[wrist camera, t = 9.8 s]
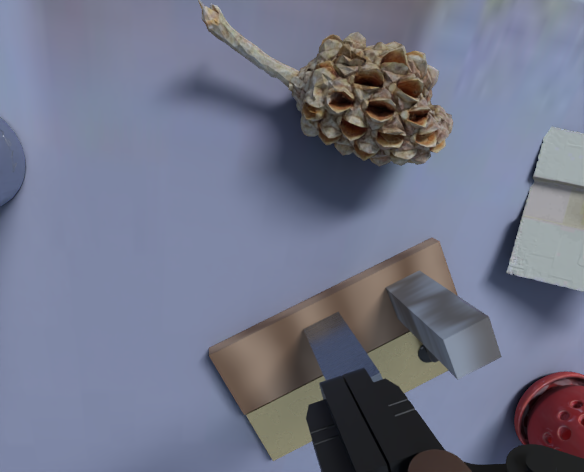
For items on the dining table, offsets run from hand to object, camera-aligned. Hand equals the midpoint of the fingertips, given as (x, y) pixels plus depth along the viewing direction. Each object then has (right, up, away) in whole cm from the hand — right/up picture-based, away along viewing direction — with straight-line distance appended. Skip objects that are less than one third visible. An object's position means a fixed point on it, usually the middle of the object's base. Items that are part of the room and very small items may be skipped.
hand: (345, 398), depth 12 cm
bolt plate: (+6, -11, +32) cm, 35 cm away
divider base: (+4, -6, +31) cm, 31 cm away
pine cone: (0, +18, +24) cm, 30 cm away
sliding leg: (+3, -8, +29) cm, 31 cm away
